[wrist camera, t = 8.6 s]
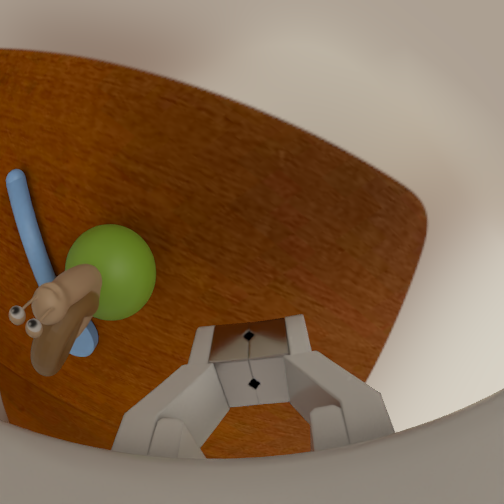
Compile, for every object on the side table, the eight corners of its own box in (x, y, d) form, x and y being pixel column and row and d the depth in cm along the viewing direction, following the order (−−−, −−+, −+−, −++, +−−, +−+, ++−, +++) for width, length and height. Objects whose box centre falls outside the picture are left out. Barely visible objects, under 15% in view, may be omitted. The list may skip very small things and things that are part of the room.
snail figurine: (188, 227, 18) (104, 375, 6) (147, 304, 20) (76, 451, 9) (113, 183, 16) (-39, 267, 5) (82, 264, 19) (-25, 380, 7)
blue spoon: (3, 176, 16) (-11, 180, 14) (40, 158, 16) (26, 161, 14) (68, 349, 22) (60, 360, 20) (106, 349, 21) (99, 362, 20)
